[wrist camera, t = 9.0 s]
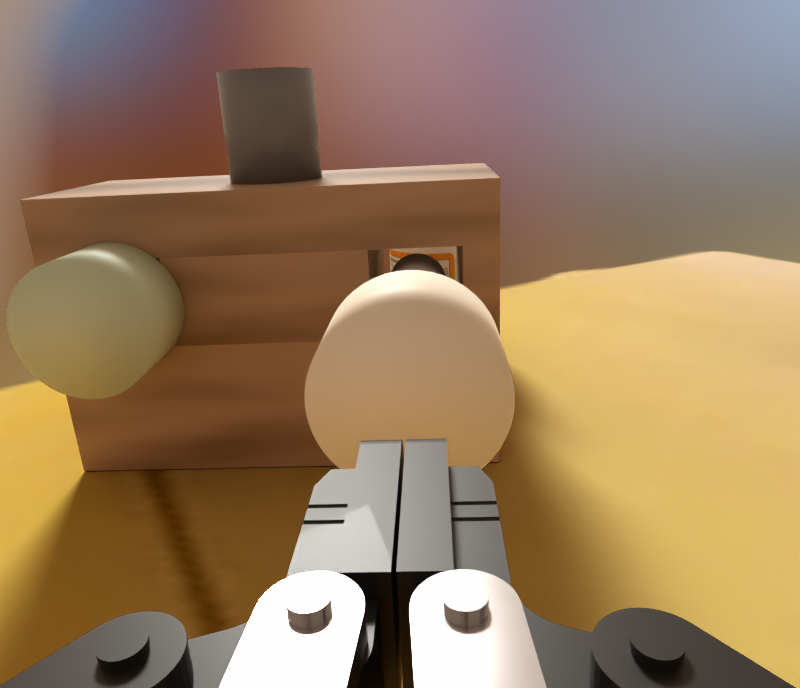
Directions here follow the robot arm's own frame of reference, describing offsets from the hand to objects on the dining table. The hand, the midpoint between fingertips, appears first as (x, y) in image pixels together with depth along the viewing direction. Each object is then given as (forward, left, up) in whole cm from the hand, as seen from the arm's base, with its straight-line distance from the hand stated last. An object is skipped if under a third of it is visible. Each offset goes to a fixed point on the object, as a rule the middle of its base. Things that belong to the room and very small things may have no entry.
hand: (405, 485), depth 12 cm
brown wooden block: (+17, -3, -7) cm, 19 cm away
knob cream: (+8, -5, -2) cm, 10 cm away
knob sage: (+19, +2, -2) cm, 19 cm away
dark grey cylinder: (+17, -4, +4) cm, 18 cm away
